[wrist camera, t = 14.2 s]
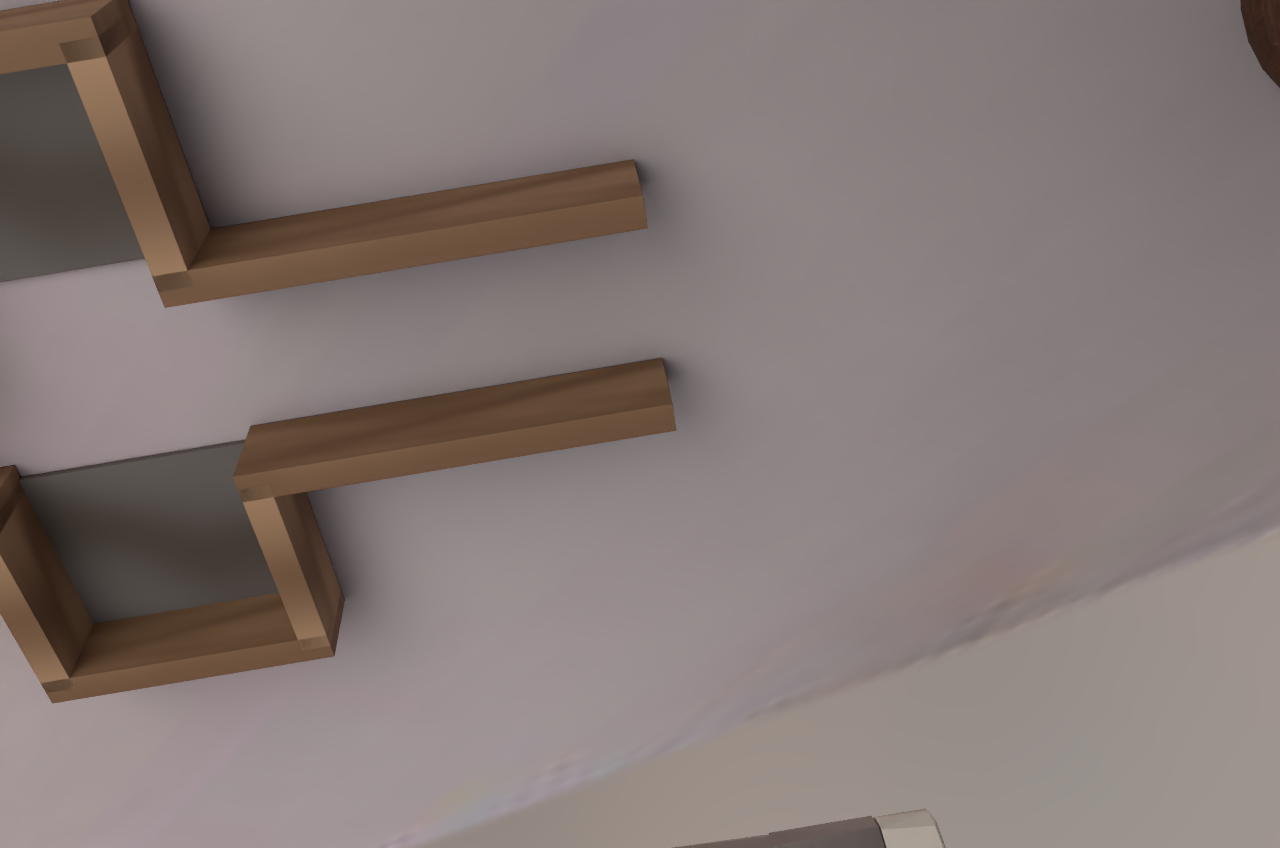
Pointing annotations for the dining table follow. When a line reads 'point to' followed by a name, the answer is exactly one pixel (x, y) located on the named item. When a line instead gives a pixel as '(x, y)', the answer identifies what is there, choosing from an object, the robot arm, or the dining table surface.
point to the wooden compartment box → (272, 453)
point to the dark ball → (1264, 33)
